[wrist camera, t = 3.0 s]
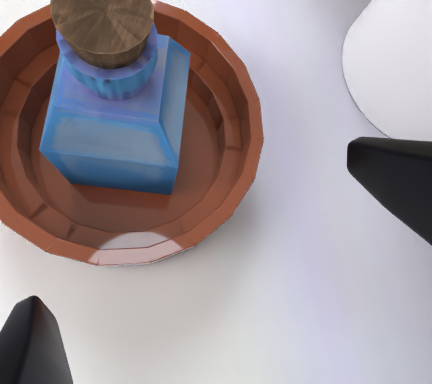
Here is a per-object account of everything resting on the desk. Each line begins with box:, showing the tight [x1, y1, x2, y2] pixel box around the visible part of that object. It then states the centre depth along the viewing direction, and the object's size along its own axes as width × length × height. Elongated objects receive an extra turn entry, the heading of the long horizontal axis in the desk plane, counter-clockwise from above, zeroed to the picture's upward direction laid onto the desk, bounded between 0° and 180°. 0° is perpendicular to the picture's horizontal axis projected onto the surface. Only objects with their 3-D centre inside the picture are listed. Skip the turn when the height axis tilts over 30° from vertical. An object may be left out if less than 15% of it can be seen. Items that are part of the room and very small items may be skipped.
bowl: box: [0, 0, 264, 267], centre depth 21 cm, size 16×16×4 cm
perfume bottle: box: [39, 0, 191, 195], centre depth 17 cm, size 6×6×12 cm
